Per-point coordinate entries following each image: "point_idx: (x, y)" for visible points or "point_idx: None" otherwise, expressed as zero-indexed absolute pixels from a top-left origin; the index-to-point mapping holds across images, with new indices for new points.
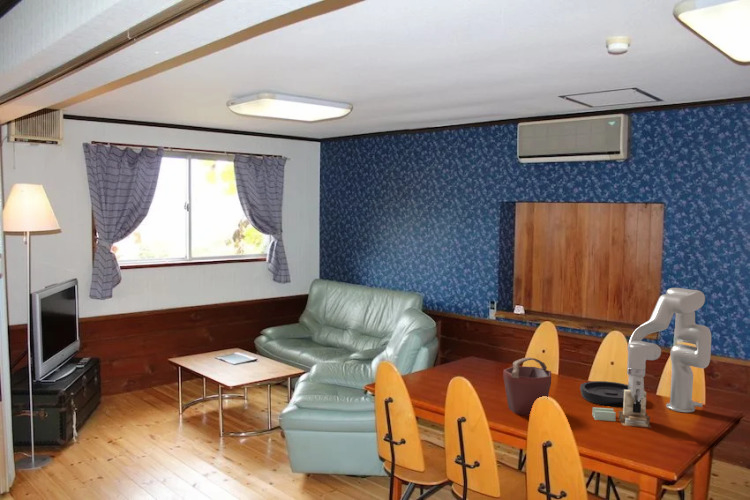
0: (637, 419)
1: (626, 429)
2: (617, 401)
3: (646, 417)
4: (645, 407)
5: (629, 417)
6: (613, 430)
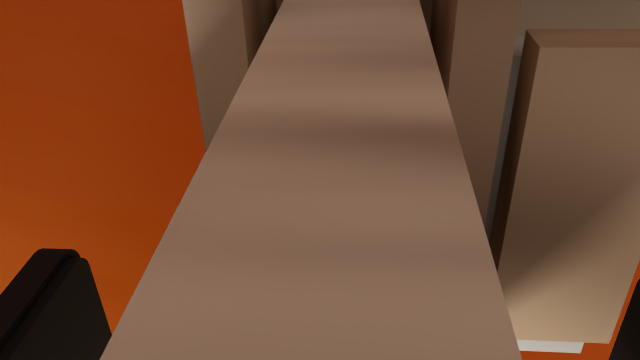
0: (636, 220)
1: (634, 277)
2: None
3: (513, 2)
4: (454, 127)
5: (555, 334)
6: None
